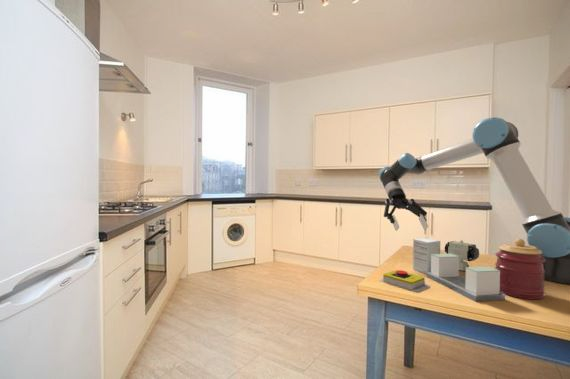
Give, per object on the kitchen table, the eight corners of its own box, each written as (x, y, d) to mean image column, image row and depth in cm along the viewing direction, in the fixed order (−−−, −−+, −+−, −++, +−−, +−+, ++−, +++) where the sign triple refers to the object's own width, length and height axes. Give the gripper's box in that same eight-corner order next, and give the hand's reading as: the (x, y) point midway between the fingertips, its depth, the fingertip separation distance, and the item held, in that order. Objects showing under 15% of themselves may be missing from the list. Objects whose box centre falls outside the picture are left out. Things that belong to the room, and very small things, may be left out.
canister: (496, 283, 108) (497, 233, 107) (544, 291, 100) (545, 238, 99) (492, 293, 98) (493, 239, 97) (545, 303, 90) (547, 244, 89)
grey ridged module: (425, 267, 127) (425, 237, 127) (440, 272, 121) (441, 240, 120) (412, 269, 124) (412, 238, 124) (427, 274, 117) (428, 242, 117)
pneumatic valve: (450, 265, 130) (450, 237, 130) (479, 272, 120) (479, 242, 120) (442, 267, 128) (443, 238, 127) (471, 274, 118) (472, 243, 117)
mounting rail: (426, 276, 115) (426, 271, 115) (450, 275, 116) (450, 270, 116) (475, 301, 91) (475, 295, 91) (504, 299, 92) (505, 293, 92)
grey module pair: (430, 273, 114) (431, 254, 114) (450, 272, 115) (450, 253, 115) (476, 295, 92) (476, 271, 92) (499, 294, 93) (500, 270, 93)
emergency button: (392, 265, 116) (432, 275, 104) (392, 277, 116) (431, 287, 104) (378, 269, 110) (418, 280, 98) (378, 281, 110) (418, 294, 98)
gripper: (415, 197, 151) (434, 233, 137) (368, 197, 148) (382, 233, 133) (422, 187, 146) (442, 222, 131) (373, 187, 142) (388, 223, 128)
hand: (412, 228), depth 132 cm, fingers open, 13 cm apart
